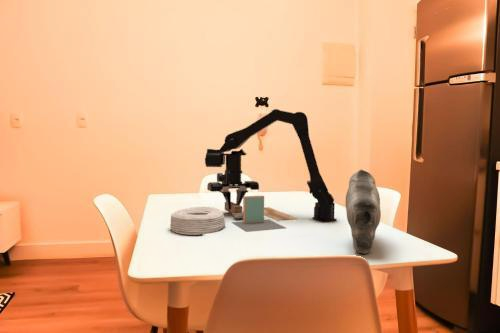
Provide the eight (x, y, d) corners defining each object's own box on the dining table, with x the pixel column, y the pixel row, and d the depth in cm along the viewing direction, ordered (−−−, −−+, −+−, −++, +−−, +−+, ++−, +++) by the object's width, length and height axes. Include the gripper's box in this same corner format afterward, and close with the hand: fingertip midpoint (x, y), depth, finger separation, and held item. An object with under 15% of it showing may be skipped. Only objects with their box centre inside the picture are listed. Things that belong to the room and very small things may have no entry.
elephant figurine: (382, 259, 87) (385, 175, 86) (344, 255, 89) (346, 174, 88) (374, 233, 111) (376, 168, 110) (344, 231, 114) (346, 167, 112)
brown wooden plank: (222, 209, 141) (222, 202, 140) (234, 209, 142) (234, 201, 142) (236, 218, 125) (236, 209, 125) (249, 217, 127) (249, 208, 127)
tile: (262, 221, 125) (262, 195, 124) (264, 222, 123) (264, 196, 123) (243, 222, 122) (243, 196, 122) (245, 224, 121) (245, 197, 120)
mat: (268, 221, 128) (268, 219, 128) (287, 229, 115) (287, 228, 115) (231, 224, 123) (231, 222, 123) (246, 233, 110) (246, 231, 110)
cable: (214, 221, 127) (214, 204, 127) (233, 233, 112) (234, 213, 111) (165, 226, 120) (164, 208, 120) (177, 239, 104) (177, 218, 104)
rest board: (269, 209, 151) (269, 207, 151) (297, 220, 129) (297, 218, 129) (251, 210, 148) (251, 208, 148) (277, 222, 126) (277, 220, 126)
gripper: (248, 165, 146) (248, 204, 147) (203, 166, 139) (203, 206, 140) (259, 167, 135) (259, 208, 136) (211, 168, 128) (211, 212, 129)
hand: (233, 208), depth 136 cm, fingers closed on brown wooden plank, 3 cm apart
